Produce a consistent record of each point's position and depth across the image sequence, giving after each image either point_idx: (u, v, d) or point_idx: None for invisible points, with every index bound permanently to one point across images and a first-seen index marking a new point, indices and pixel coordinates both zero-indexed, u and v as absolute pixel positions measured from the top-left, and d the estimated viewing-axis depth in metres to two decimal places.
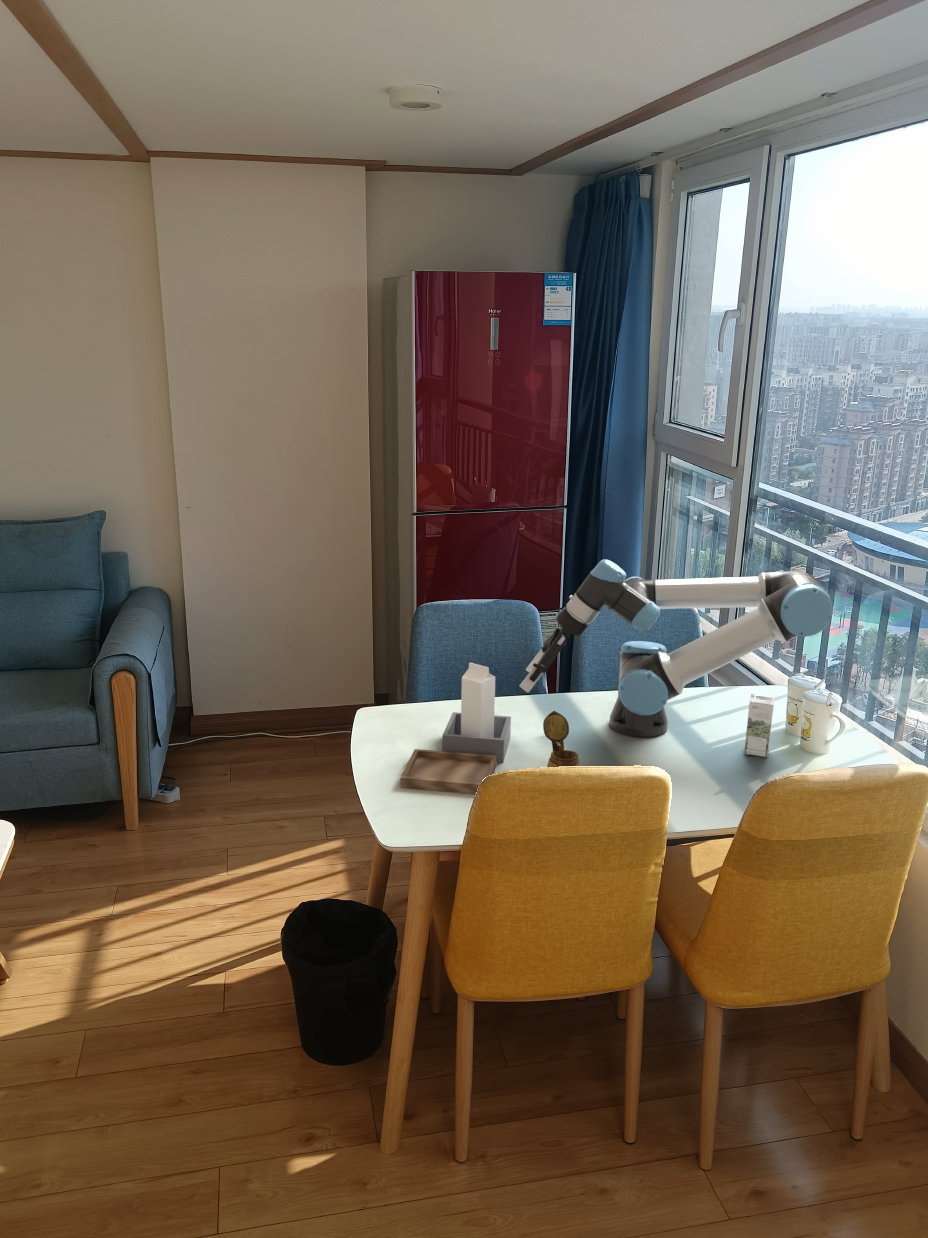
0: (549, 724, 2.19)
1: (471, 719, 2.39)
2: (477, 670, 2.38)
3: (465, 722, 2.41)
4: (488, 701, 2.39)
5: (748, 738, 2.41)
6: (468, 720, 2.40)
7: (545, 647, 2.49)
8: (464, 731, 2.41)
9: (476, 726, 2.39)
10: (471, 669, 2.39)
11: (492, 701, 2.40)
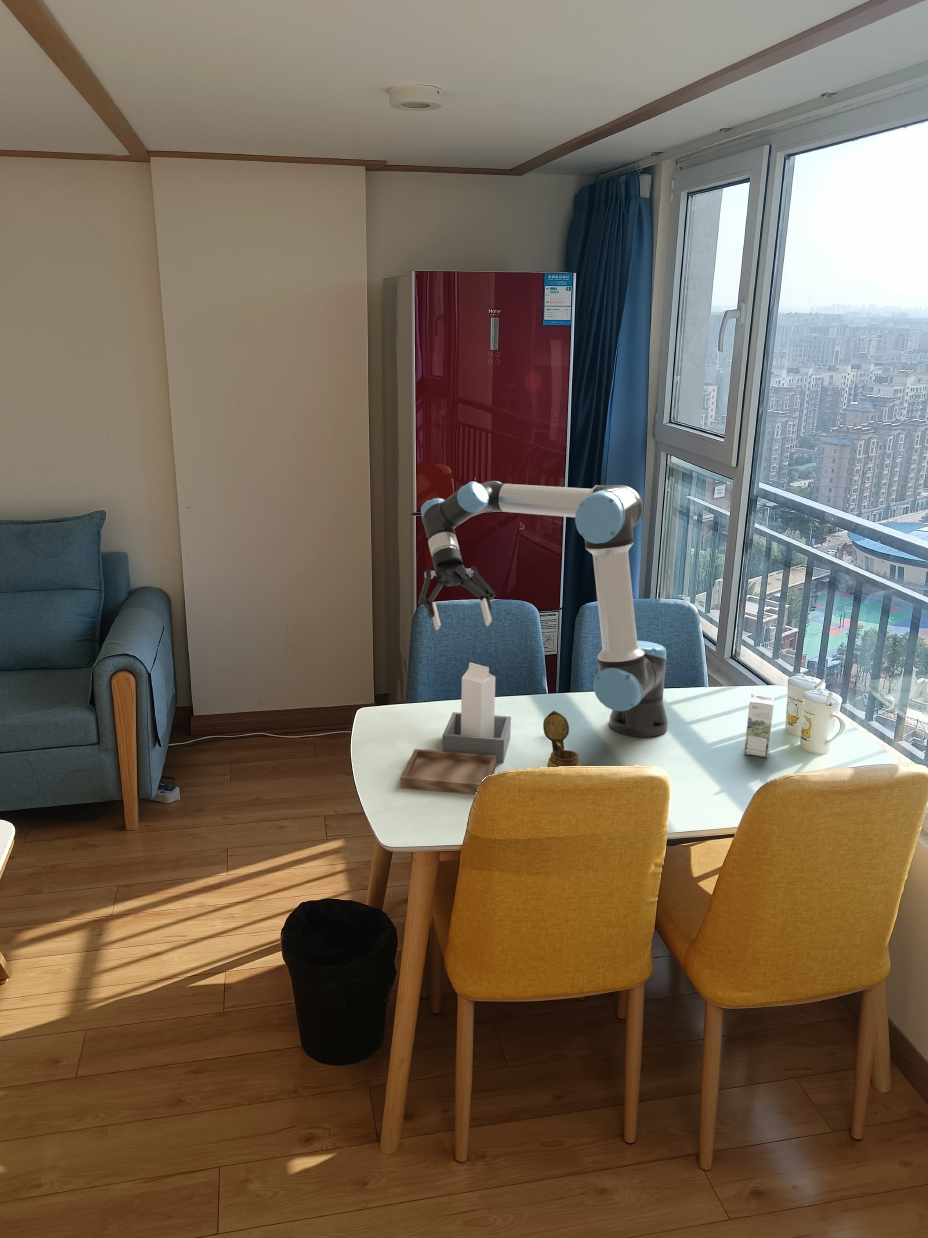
0: (549, 724, 2.19)
1: (471, 719, 2.39)
2: (477, 670, 2.38)
3: (465, 722, 2.41)
4: (488, 701, 2.39)
5: (748, 738, 2.41)
6: (468, 720, 2.40)
7: (478, 597, 2.52)
8: (464, 731, 2.41)
9: (476, 726, 2.39)
10: (471, 669, 2.39)
11: (492, 701, 2.40)
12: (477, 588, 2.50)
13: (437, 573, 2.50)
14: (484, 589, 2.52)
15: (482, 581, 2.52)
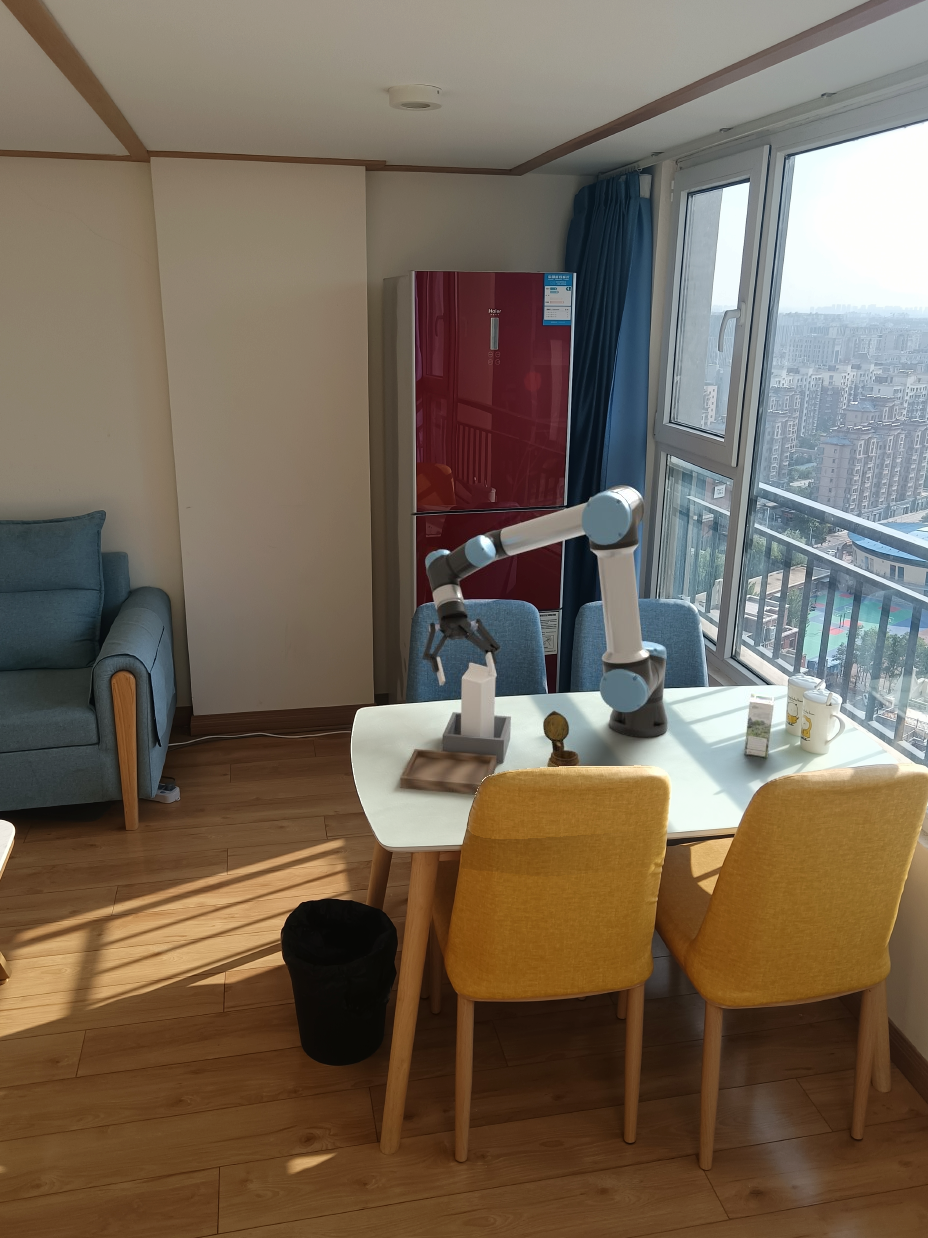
0: (549, 724, 2.19)
1: (471, 719, 2.39)
2: (477, 670, 2.38)
3: (465, 722, 2.41)
4: (488, 701, 2.39)
5: (748, 738, 2.41)
6: (468, 720, 2.40)
7: (483, 650, 2.49)
8: (464, 731, 2.41)
9: (476, 726, 2.39)
10: (471, 669, 2.39)
11: (492, 701, 2.40)
12: (482, 642, 2.48)
13: (441, 627, 2.48)
14: (489, 642, 2.50)
15: (487, 634, 2.50)
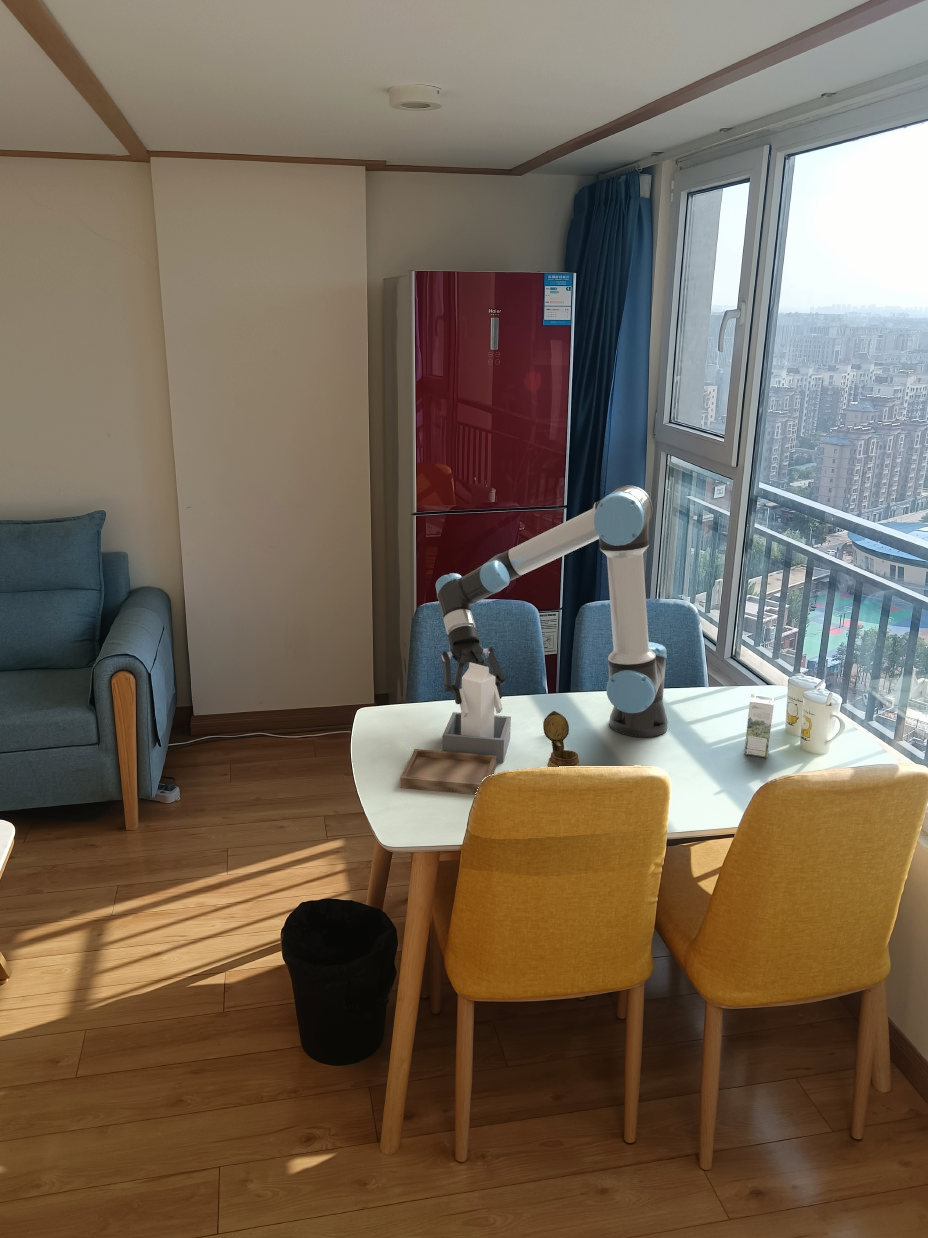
0: (549, 724, 2.19)
1: (471, 719, 2.39)
2: (477, 670, 2.38)
3: (465, 722, 2.41)
4: (488, 701, 2.39)
5: (748, 738, 2.41)
6: (468, 720, 2.40)
7: None
8: (464, 731, 2.41)
9: (476, 726, 2.39)
10: (471, 669, 2.39)
11: (492, 701, 2.40)
12: (489, 672, 2.43)
13: (453, 653, 2.43)
14: (496, 673, 2.44)
15: (496, 664, 2.44)
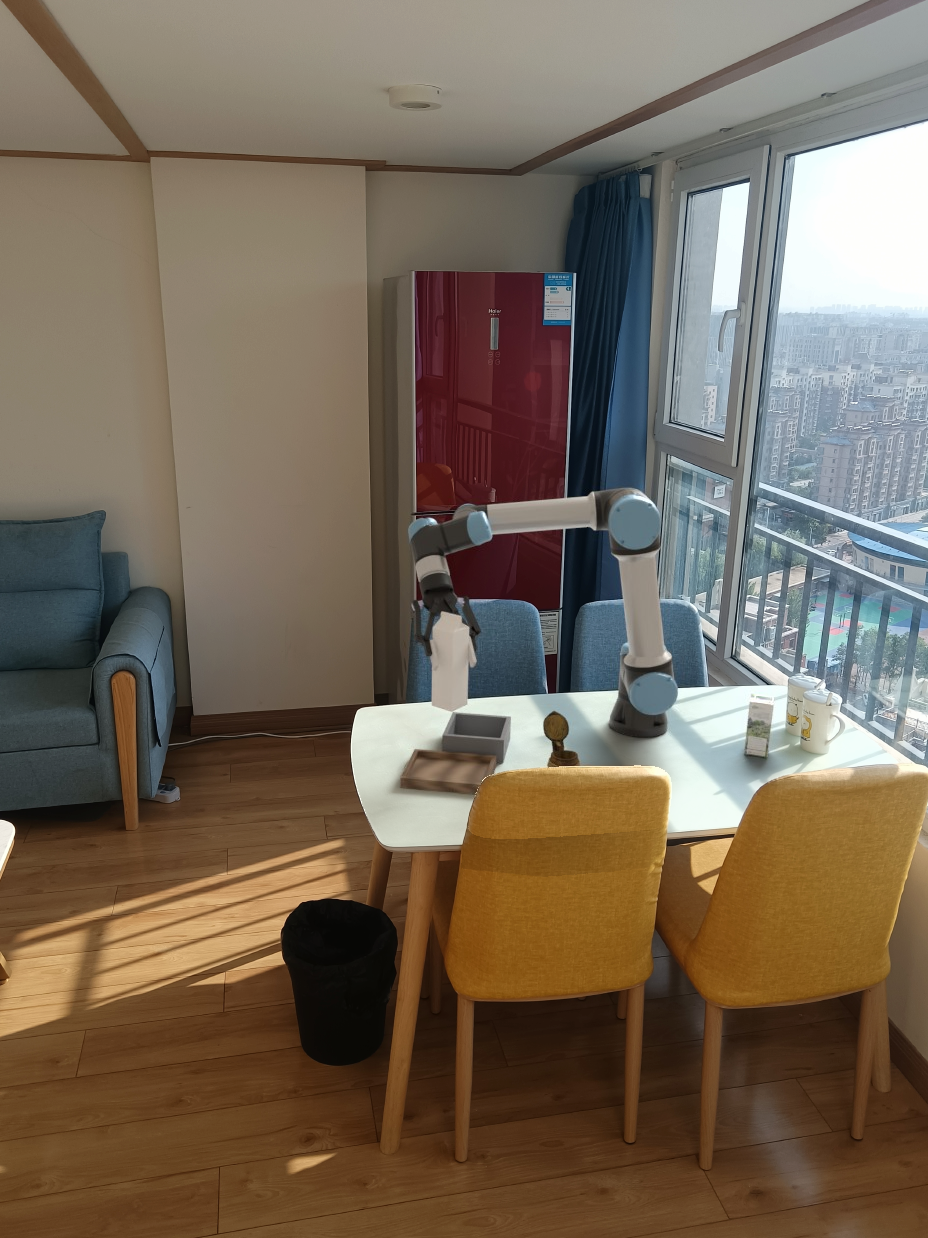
0: (549, 724, 2.19)
1: (442, 672, 2.20)
2: (449, 619, 2.19)
3: (436, 676, 2.22)
4: (461, 654, 2.20)
5: (748, 738, 2.41)
6: (439, 674, 2.21)
7: None
8: (435, 686, 2.22)
9: (448, 681, 2.20)
10: (443, 618, 2.20)
11: (466, 654, 2.21)
12: (463, 623, 2.23)
13: (424, 601, 2.24)
14: (471, 624, 2.25)
15: (471, 615, 2.25)
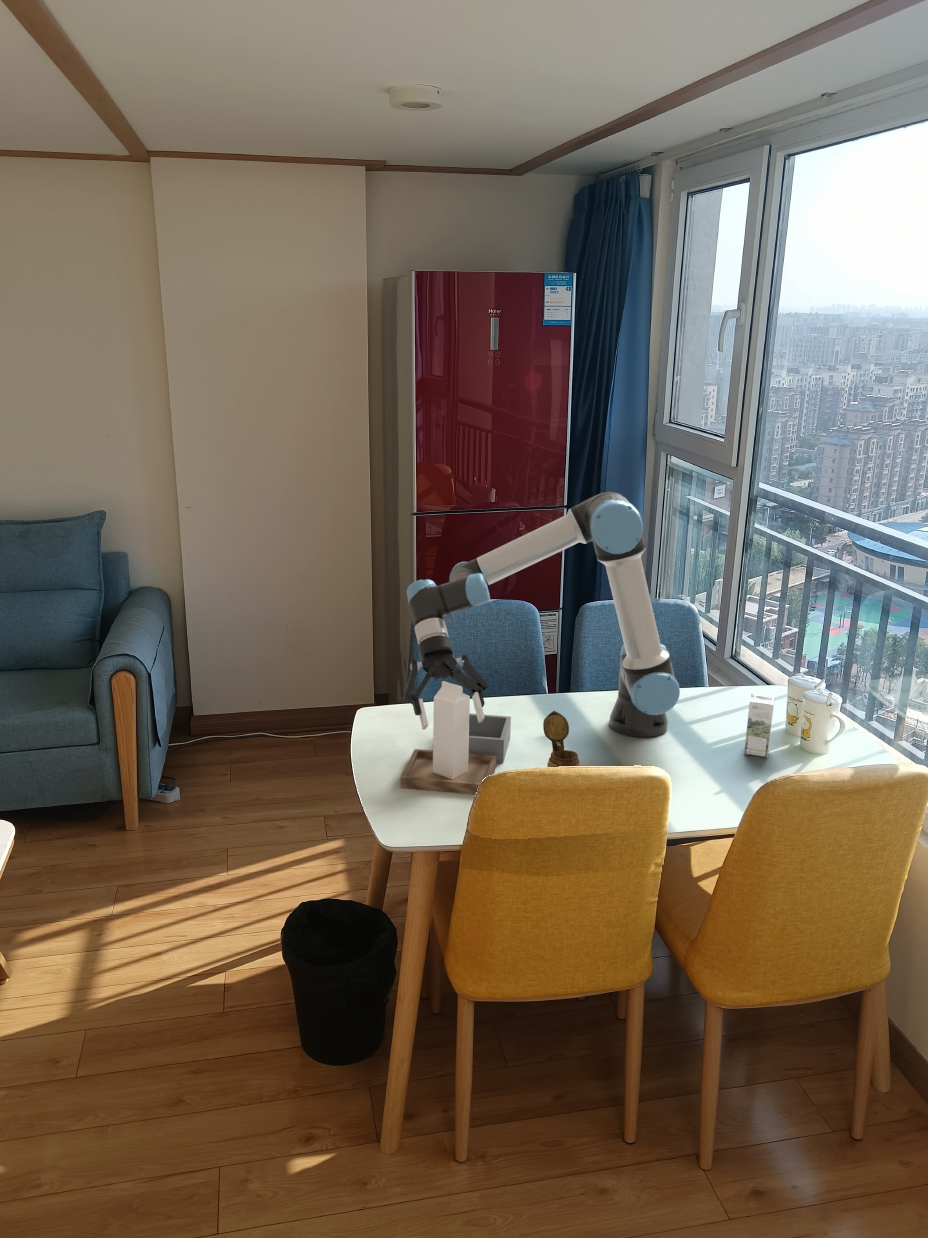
0: (549, 724, 2.19)
1: (443, 741, 2.23)
2: (450, 689, 2.22)
3: (437, 745, 2.25)
4: (462, 723, 2.23)
5: (748, 738, 2.41)
6: (441, 743, 2.24)
7: (470, 690, 2.29)
8: (436, 754, 2.26)
9: (449, 749, 2.23)
10: (444, 688, 2.23)
11: (467, 722, 2.25)
12: (468, 680, 2.27)
13: (424, 664, 2.27)
14: (476, 681, 2.29)
15: (474, 672, 2.29)
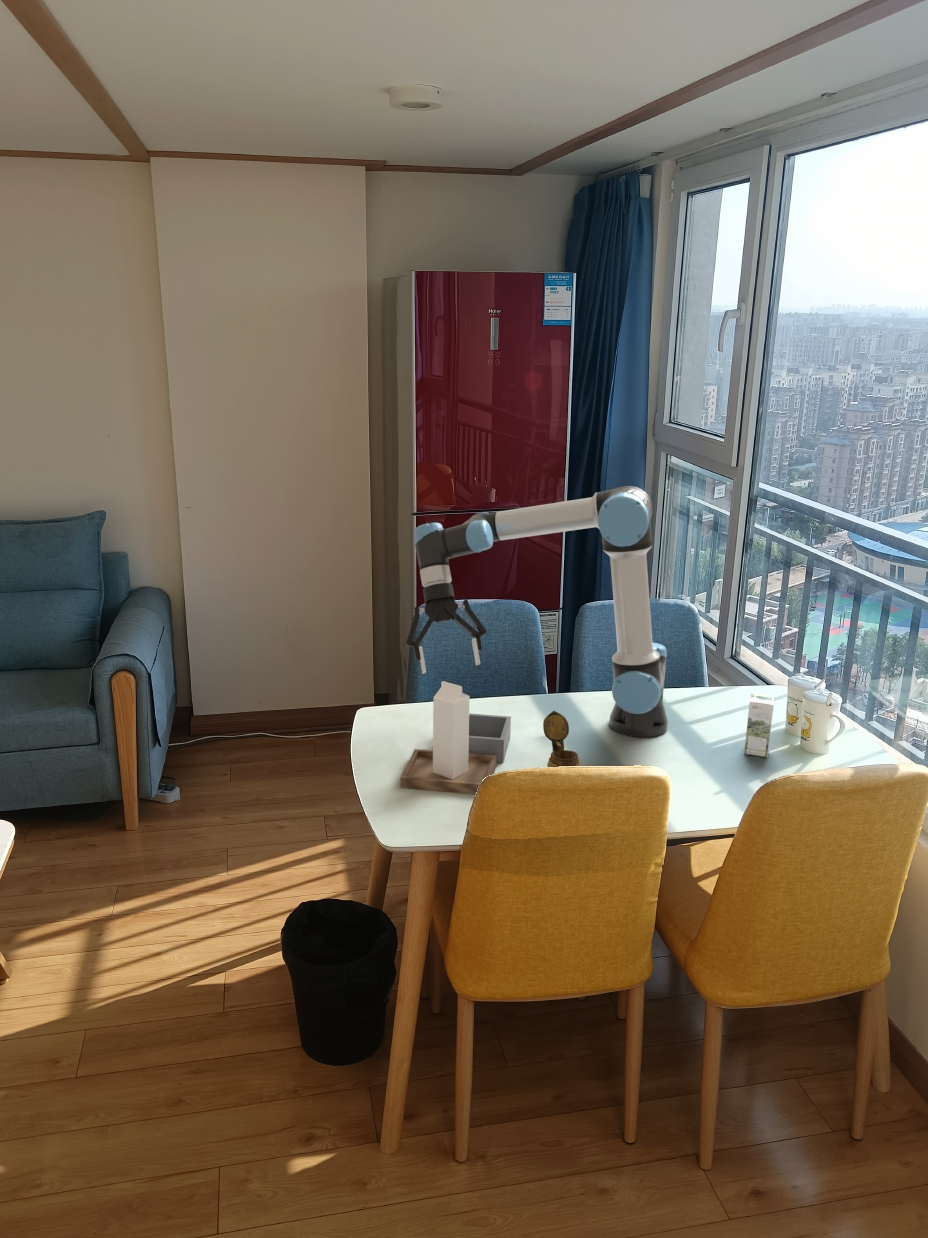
0: (549, 724, 2.19)
1: (443, 741, 2.23)
2: (450, 689, 2.22)
3: (437, 745, 2.25)
4: (462, 723, 2.23)
5: (748, 738, 2.41)
6: (440, 743, 2.24)
7: (469, 633, 2.44)
8: (436, 754, 2.26)
9: (449, 749, 2.23)
10: (444, 688, 2.23)
11: (466, 722, 2.25)
12: (467, 626, 2.43)
13: (426, 611, 2.42)
14: (476, 625, 2.44)
15: (473, 617, 2.43)
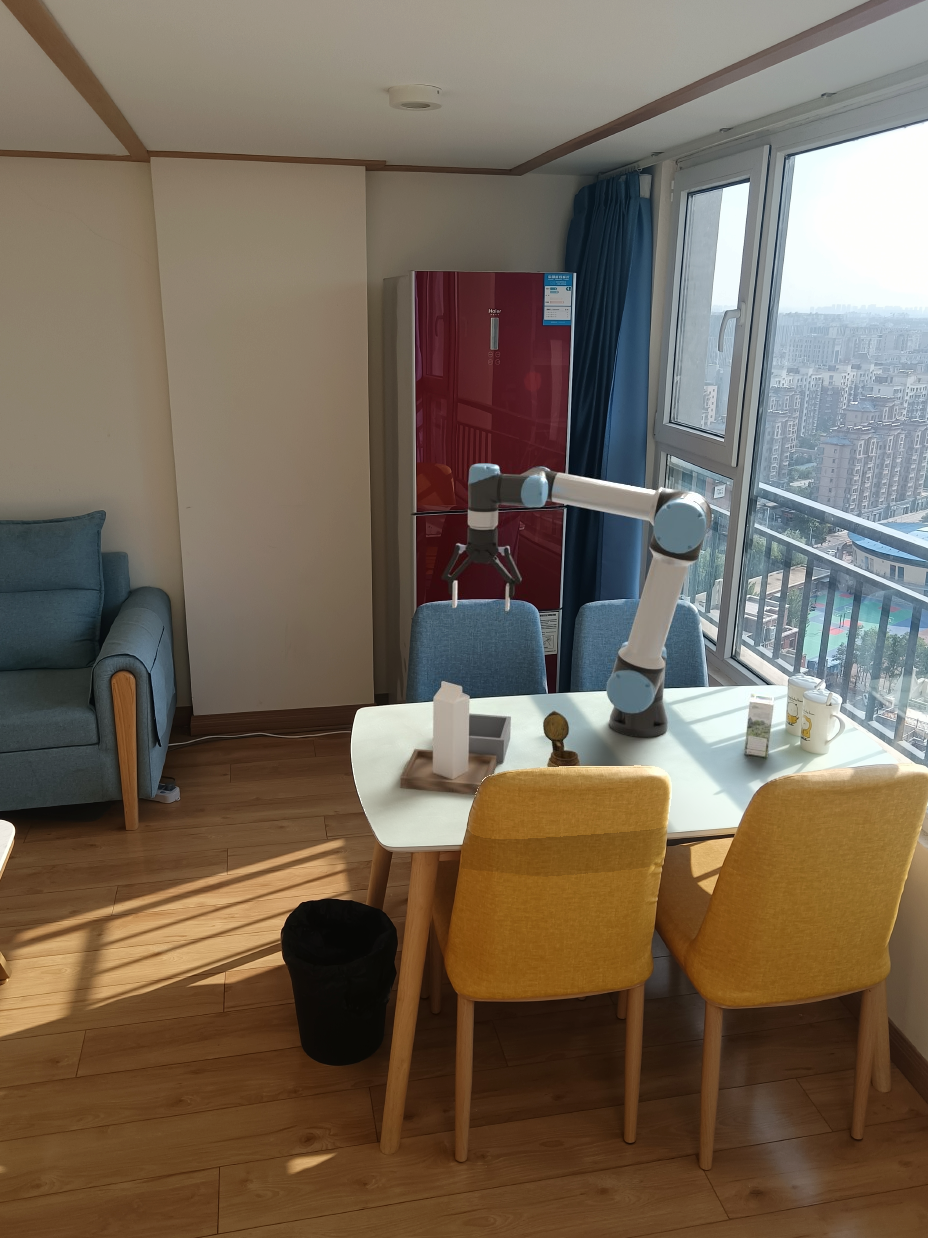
0: (549, 724, 2.19)
1: (443, 741, 2.23)
2: (450, 689, 2.22)
3: (437, 745, 2.25)
4: (462, 723, 2.23)
5: (748, 738, 2.41)
6: (440, 743, 2.24)
7: None
8: (436, 754, 2.26)
9: (449, 749, 2.23)
10: (444, 688, 2.23)
11: (466, 722, 2.25)
12: (503, 573, 2.46)
13: (466, 550, 2.46)
14: None
15: (511, 566, 2.45)
